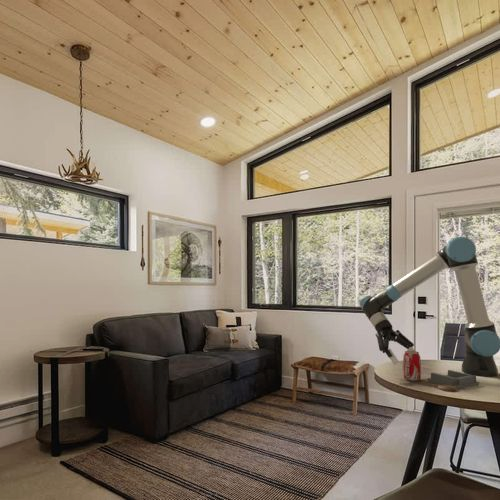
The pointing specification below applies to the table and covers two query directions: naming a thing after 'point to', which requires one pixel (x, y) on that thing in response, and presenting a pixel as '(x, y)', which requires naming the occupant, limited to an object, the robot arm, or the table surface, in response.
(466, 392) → the table surface
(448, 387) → the walnut coaster
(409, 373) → the soda can
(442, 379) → the dock
